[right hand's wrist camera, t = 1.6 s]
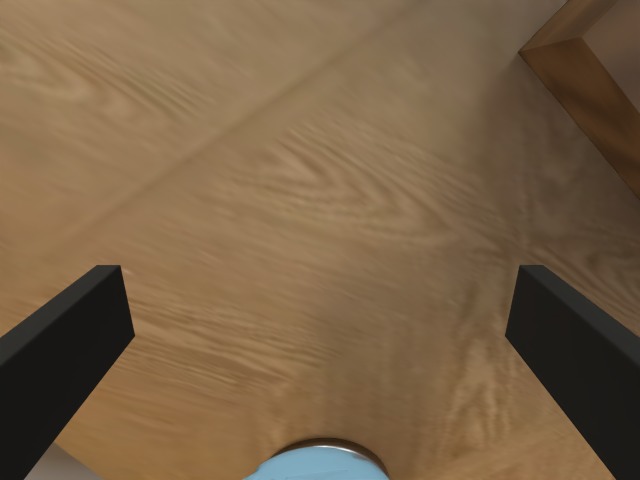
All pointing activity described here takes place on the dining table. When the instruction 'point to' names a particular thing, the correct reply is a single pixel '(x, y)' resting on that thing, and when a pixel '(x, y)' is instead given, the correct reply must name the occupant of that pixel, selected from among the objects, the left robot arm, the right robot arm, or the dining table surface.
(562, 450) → the dining table surface
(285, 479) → the left robot arm
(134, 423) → the dining table surface
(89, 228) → the dining table surface
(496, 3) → the dining table surface
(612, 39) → the beam
